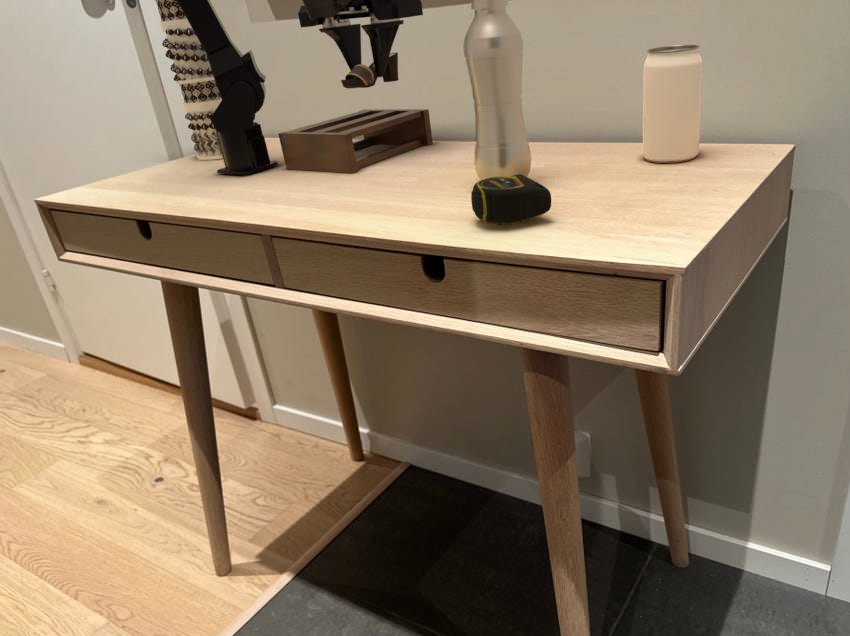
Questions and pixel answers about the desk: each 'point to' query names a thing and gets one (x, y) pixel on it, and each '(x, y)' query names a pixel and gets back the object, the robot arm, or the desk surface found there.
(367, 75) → the heeled mule
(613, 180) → the desk surface
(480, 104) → the plastic bottle
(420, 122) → the shoe rack
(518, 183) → the tape measure
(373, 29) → the robot arm
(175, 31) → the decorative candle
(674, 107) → the can
